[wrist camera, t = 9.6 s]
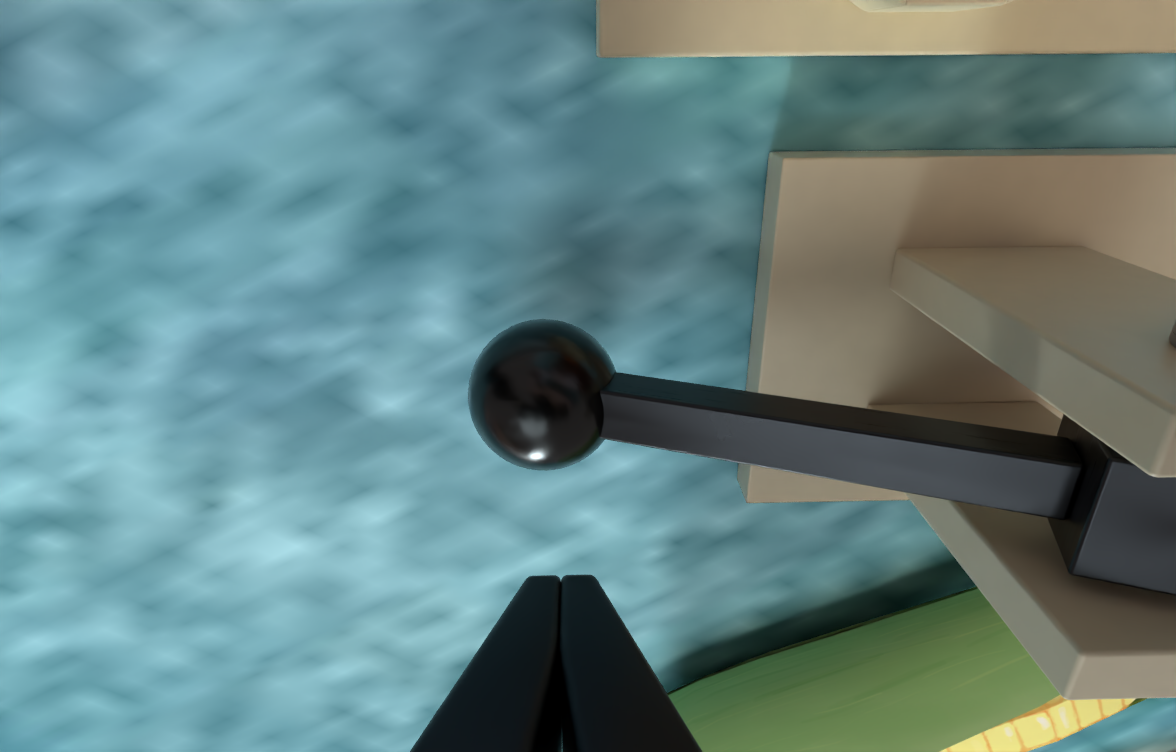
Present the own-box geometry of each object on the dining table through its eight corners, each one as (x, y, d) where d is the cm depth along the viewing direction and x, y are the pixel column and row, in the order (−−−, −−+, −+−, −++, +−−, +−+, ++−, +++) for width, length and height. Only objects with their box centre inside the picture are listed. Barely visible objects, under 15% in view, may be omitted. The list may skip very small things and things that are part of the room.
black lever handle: (513, 416, 17) (446, 483, 14) (506, 292, 16) (430, 341, 13) (1199, 535, 13) (1288, 665, 10) (1268, 377, 11) (1394, 478, 9)
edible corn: (586, 694, 23) (590, 832, 19) (1206, 447, 20) (1375, 551, 15) (653, 782, 25) (669, 925, 21) (1227, 572, 22) (1383, 694, 17)
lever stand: (736, 479, 20) (860, 793, 11) (768, 151, 16) (989, 252, 8) (1081, 472, 20) (1457, 777, 11) (1192, 147, 16) (1876, 242, 8)
